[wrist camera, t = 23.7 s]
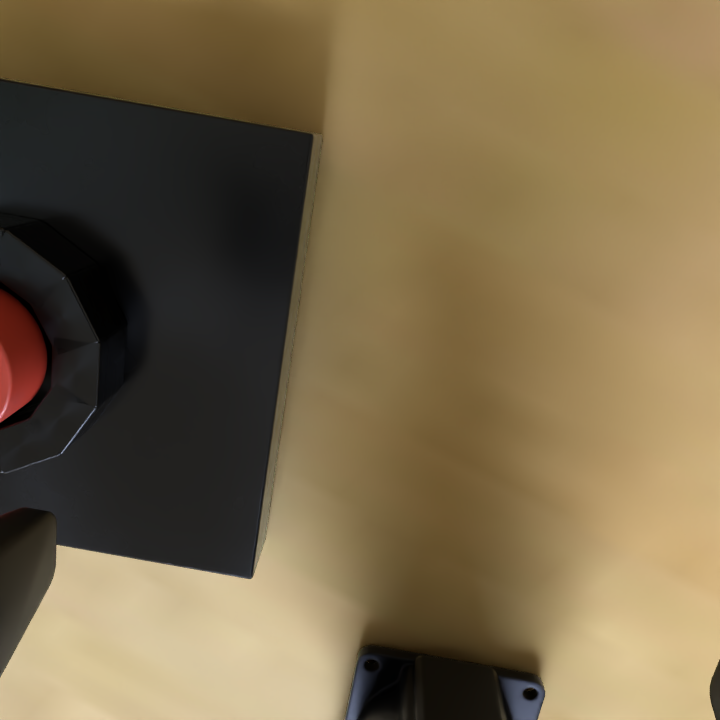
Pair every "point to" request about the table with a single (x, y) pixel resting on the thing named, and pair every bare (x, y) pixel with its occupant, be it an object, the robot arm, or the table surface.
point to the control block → (152, 319)
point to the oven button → (19, 355)
